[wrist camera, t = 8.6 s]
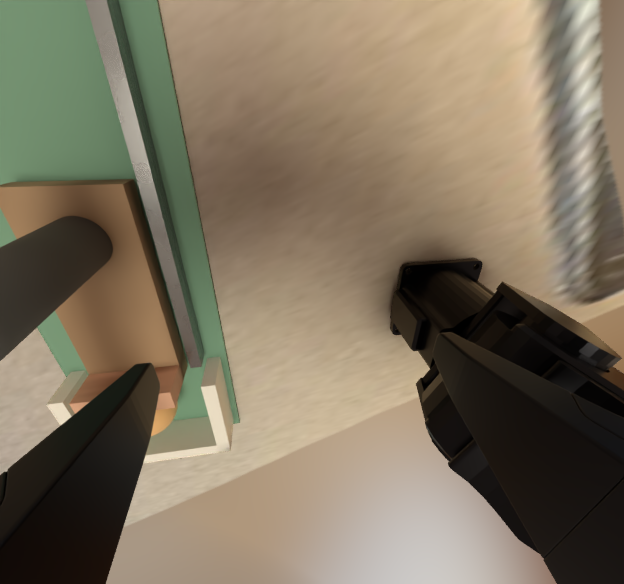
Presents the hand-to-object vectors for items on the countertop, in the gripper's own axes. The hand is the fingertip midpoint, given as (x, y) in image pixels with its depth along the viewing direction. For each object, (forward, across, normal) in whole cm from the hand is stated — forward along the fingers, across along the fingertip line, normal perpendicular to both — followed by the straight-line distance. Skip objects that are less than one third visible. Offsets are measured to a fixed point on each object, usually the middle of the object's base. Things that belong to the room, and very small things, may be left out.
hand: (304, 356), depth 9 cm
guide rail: (+12, +7, -2) cm, 14 cm away
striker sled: (+12, +11, +3) cm, 17 cm away
